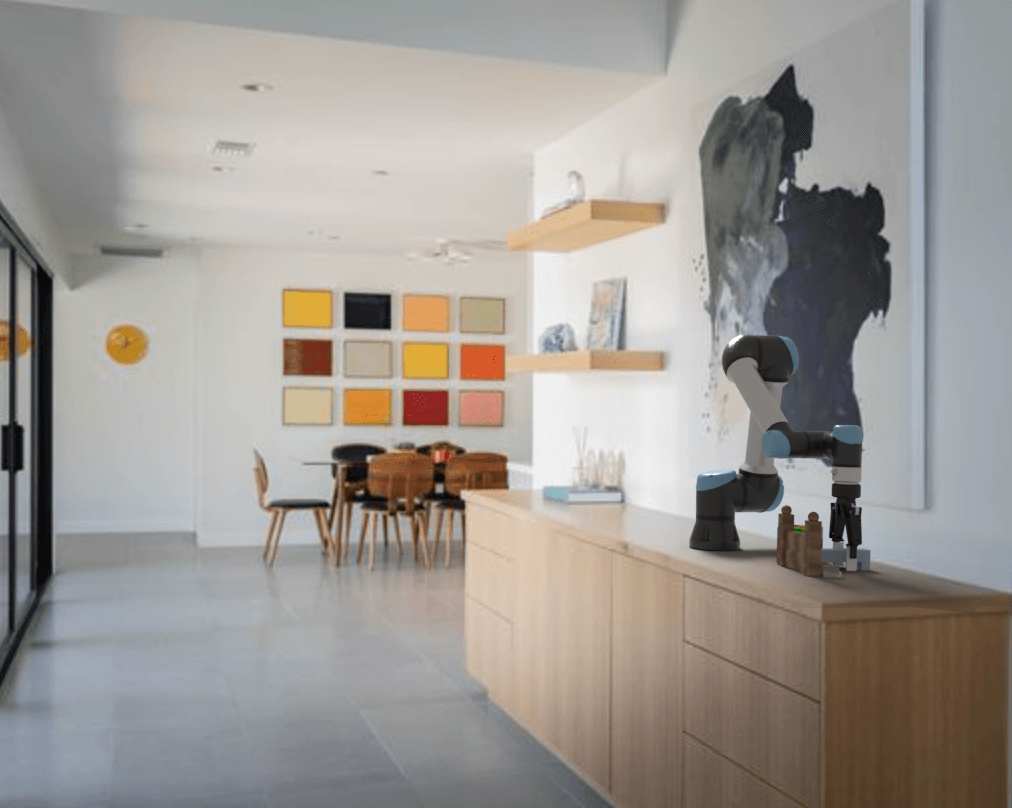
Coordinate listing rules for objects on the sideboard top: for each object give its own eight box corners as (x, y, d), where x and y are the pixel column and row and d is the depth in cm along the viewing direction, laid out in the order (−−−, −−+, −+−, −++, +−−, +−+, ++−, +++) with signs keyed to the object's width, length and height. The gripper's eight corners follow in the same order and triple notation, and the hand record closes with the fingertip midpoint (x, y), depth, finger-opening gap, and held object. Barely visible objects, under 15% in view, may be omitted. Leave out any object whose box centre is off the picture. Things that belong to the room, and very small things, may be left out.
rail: (807, 568, 312) (808, 548, 312) (863, 568, 315) (864, 548, 315) (813, 570, 308) (814, 550, 308) (870, 570, 311) (870, 550, 311)
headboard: (777, 564, 318) (778, 504, 318) (804, 564, 319) (805, 504, 319) (812, 577, 296) (813, 513, 296) (841, 577, 297) (843, 513, 297)
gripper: (817, 479, 321) (815, 563, 321) (850, 485, 301) (848, 574, 301) (842, 480, 322) (840, 562, 322) (877, 485, 302) (875, 574, 302)
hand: (844, 568), depth 312 cm, fingers open, 7 cm apart
